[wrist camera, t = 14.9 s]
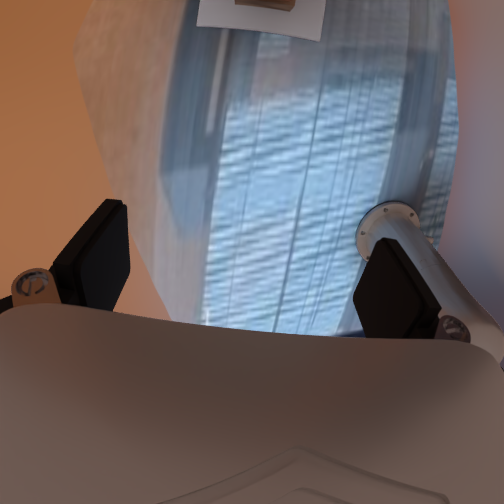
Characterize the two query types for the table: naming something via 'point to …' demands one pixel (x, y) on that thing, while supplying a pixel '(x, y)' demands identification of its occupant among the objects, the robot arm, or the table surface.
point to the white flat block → (265, 16)
